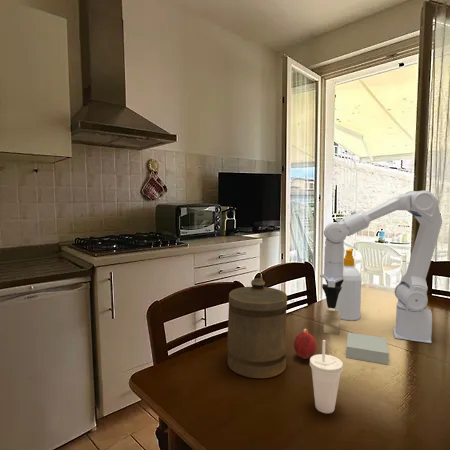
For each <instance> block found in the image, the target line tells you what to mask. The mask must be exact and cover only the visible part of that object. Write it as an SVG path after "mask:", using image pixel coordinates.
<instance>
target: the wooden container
mask: <svg viewBox="0 0 450 450" xmlns="http://www.w3.org/2000/svg"><path fill="white" fill-rule="evenodd" d="M250 284H251V286H243V287H242V286H241V287H237V288H235V289H232V290H231V291H230V292H229V293H228V316H227V317H228V318H227V320H228V322H227V366H228V367H229V369H230V370H231V371H233V372H234V373H235V374H238V375H240V376H243V377H246V378H251V379H268V378H269V379H270V378H272V377H276V376H279V375H280V374H282V373H283V372H285V370H286V368H287V341H288V340H287V337H288V336H287V335H288V334H287V307H288V295H287V294H286V292H284V291H282V290H281V289H278V288H273V287H270V286H269V287H267V286H265V285H266V281H265V280H264V279H262V278H261V277H259V278H258V277H256V278H254V279H252V280H251V282H250Z"/></svg>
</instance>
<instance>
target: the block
mask: <svg viewBox="0 0 450 450" xmlns="http://www.w3.org/2000/svg"><path fill="white" fill-rule="evenodd" d="M323 317H324V318H323V333H324V334H331V335H338V336H339V335H340V330H341V319H340V311H335V310H333V309H325V310H324V314H323Z"/></svg>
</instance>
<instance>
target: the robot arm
mask: <svg viewBox="0 0 450 450" xmlns="http://www.w3.org/2000/svg"><path fill="white" fill-rule="evenodd" d="M439 203H440V200H439V199H438V198H437V197H436V196H435V194H433V193H432V192H431V191H429V190H418V191H417V190H416V191H415V190H409V191H407V192H405V193H402V194H399V195H397V196H394V197H392V198H390V199H388V200H386V201H383V202H381V204H378V205H377V206H375V207H373V208H371V209H368V210H366V211H362V210H357V211H356V210H353V211H350V214H349V215H346V216H345V217H343V218H337V219H335V220H336V222H330V223H328V224H327V225H326V226H325V228H324V230H323V235H324V238H325V240H324V245H325V246H324V255H323V257H324V259H323V260H324V262H323V265H324V266H323V273H320V274H319V278H323V279H325V283H326V284H325V283H322V285H321V288H322V290H323V292H324V296H325V300H326V304H327V308H328V309H332V310H333V309H334V310H335V307H336V303H337V299H338V295H339V292H340V291H341V289H342V287H341V285H342V283H343V281H344V276H343V266H344V258H345V255H344V254H345V247H344V243H345V242H344V241H345V240H346V238H347V237H351V236H352V235H355V234H356V233H359V232H361V231H363V230H365V229H368V228H369V227H370V224H371V222H372V221H375V220H377V219H380V218H382V217H384V216H387V215H389V214H392V213H394V212H396V211H406V212H408V213H410V214H411V215H412V216H413V217H414V218H415V219H416V221H417V222H418V223H419V227H418V230H417V234H416V238H415V242H414V245H413V248H412V252H411V255H410V258H409V261H408V262H409V263H408V265H407V270H406V273H405V274H403V276H402V277H401V278H400V281H399V283H398V284H397V285H396V286H395V288H394V296H395V298H396V299H397V302H396V310H395V311H396V312H395V313H396V315H395V327H393V328H392V331H393V335H394V338H395V339H397V340H398V339H399V340H406V341H413V342H419V343H427V344H432V335H433V334H432V331H433V313H432V310H431V309H428V308H426V306H427V305H428V302H429V301H428V300H429V299H428V295H427V294H428V285H427V279H426V278H427V276H428V273H429V269H430V266H431V262H432V259H433V256H434V255H433V254H434V252H435V249H436V246H437V242H438V237H439V234H440V232H441V227H442V224H443V218H442V215H441V211H440V208H439Z"/></svg>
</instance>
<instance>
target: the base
mask: <svg viewBox="0 0 450 450" xmlns="http://www.w3.org/2000/svg"><path fill="white" fill-rule="evenodd" d="M345 348H346V351H345V352H346V353H345V354H346V356H345V358H346V359H347V358H348V359H353V360H357V361H359V360H360V361H365V362H371V363H376V364H381V365H389V347H388V341H387V337H381V336H375V335H368V334H361V333H354V332H347V340H346V347H345Z"/></svg>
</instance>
